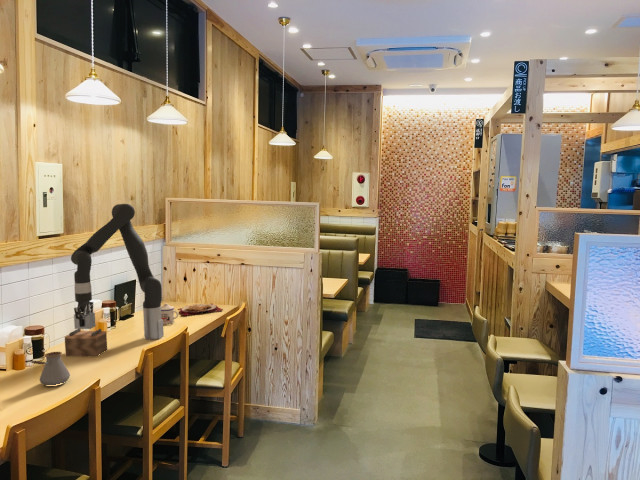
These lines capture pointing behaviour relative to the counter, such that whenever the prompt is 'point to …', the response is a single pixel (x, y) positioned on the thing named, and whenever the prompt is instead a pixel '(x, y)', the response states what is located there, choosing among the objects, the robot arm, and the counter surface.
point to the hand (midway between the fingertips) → (85, 324)
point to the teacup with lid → (168, 314)
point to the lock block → (86, 321)
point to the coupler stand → (85, 343)
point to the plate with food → (199, 309)
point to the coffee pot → (53, 369)
